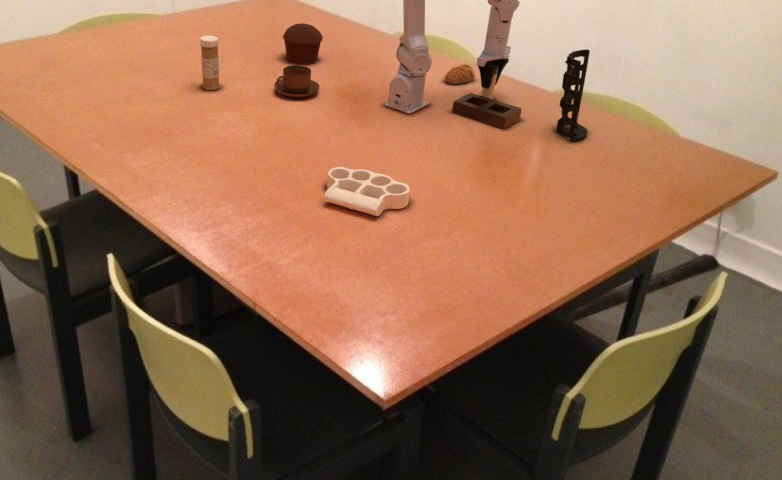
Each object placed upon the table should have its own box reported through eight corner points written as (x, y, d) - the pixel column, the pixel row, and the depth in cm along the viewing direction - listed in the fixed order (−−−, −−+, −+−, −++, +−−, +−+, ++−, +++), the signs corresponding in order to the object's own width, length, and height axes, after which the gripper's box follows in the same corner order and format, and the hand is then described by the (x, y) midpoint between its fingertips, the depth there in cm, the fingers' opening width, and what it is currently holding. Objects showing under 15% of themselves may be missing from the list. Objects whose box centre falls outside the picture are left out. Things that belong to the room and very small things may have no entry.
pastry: (458, 87, 215) (459, 74, 213) (438, 81, 219) (439, 68, 217) (476, 79, 221) (478, 66, 219) (456, 73, 225) (458, 60, 223)
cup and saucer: (299, 104, 199) (300, 81, 195) (264, 92, 205) (264, 69, 201) (328, 92, 207) (329, 70, 204) (293, 81, 213) (294, 59, 209)
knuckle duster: (309, 201, 157) (340, 173, 168) (390, 224, 151) (417, 194, 162) (309, 186, 156) (341, 159, 167) (392, 210, 150) (418, 180, 161)
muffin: (276, 62, 224) (277, 27, 219) (289, 50, 233) (290, 17, 228) (315, 68, 222) (316, 33, 216) (327, 56, 231) (328, 23, 225)
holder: (588, 143, 188) (600, 62, 177) (556, 142, 189) (566, 61, 179) (585, 126, 197) (596, 48, 186) (555, 125, 198) (564, 47, 188)
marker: (488, 103, 207) (494, 69, 202) (476, 99, 209) (481, 66, 204) (495, 99, 209) (500, 66, 204) (482, 95, 211) (488, 63, 206)
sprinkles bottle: (213, 83, 208) (212, 33, 200) (223, 88, 205) (221, 38, 198) (199, 86, 206) (196, 36, 198) (208, 92, 203) (206, 41, 195)
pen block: (503, 129, 193) (506, 118, 191) (452, 112, 201) (453, 101, 199) (519, 119, 199) (522, 108, 197) (468, 103, 206) (470, 92, 205)
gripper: (497, 45, 192) (488, 97, 200) (524, 32, 202) (514, 82, 210) (473, 38, 196) (465, 89, 204) (500, 26, 205) (491, 76, 213)
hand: (488, 85), depth 207 cm, fingers closed on marker, 3 cm apart
